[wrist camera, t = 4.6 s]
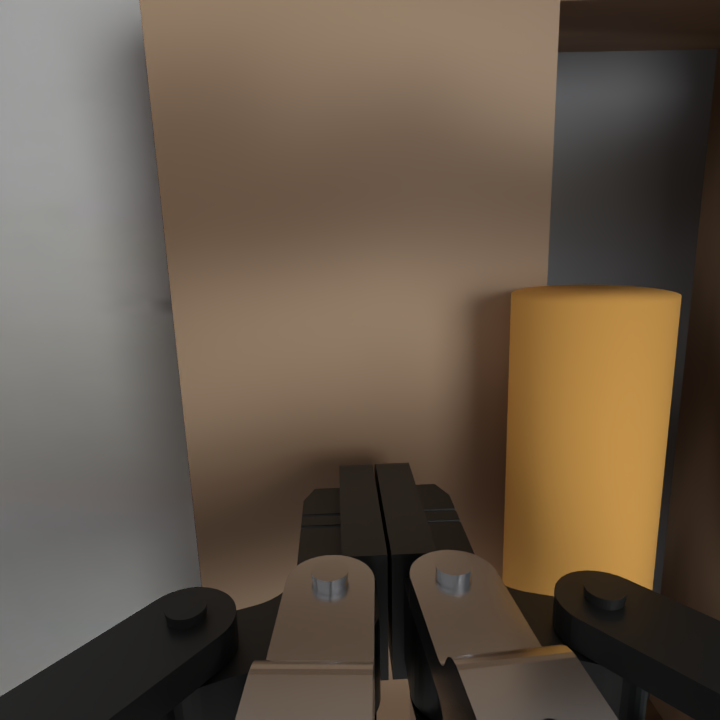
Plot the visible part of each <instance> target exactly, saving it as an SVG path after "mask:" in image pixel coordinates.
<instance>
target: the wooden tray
mask: <svg viewBox="0 0 720 720" xmlns="http://www.w3.org/2000/svg"><path fill="white" fill-rule="evenodd" d="M139 1H140V10H141V19H142V29H143V38H144V48H145V57H146V66H147V76H148V85H149V95H150V104H151V114H152V123H153V132H154V142H155V151H156V161H157V170H158V180H159V189H160V198H161V208H162V217H163V227H164V236H165V245H166V255H167V264H168V274H169V283H170V293H171V302H172V311H173V321H174V330H175V340H176V349H177V358H178V368H179V377H180V387H181V396H182V406H183V415H184V424H185V434H186V443H187V453H188V462H189V472H190V481H191V490H192V500H193V509H194V519H195V528H196V537H197V547H198V556H199V566H200V575H201V585H202V587H208V588H214V589H218V590H221V591H223V592H225V593H227V594H228V595H229V596H230V597H231V598H232V599H233V600H234V602H235V605H236V610H240V609H243V608H247V607H251V606H255V605H258V604H261V603H264V602H266V601H269V600H271V599H273V598H275V597H276V596H278V595H280V594H281V593H282V592H283V590H284V586H285V582H286V579H287V576H288V575H289V573H290V572H291V571H292V570H293V569H294V568H295V567H296V566H297V561H298V551H299V541H300V531H301V522H302V512H303V502H304V500H305V499H306V498H307V497H308V496H309V495H310V494H311V492H312V491H313V490H314V489H323V488H340V482H339V465H358V464H372V465H373V470H374V476H375V464H382V463H409V465H410V468H411V471H412V474H413V477H414V481H415V484H416V485H421V484H435V485H437V486H438V487H439V488H441V489H442V490H443V491H445V492H446V493H447V494H449V495H450V498H451V500H452V502H453V505H454V507H455V511H456V512H457V514H458V516H459V519H460V522H461V524H462V526H463V528H464V531H465V533H466V535H467V538H468V540H469V542H470V545H471V547H472V549H473V552H474V554H475V555H477V556H479V557H481V558H483V559H485V560H486V561H488V562H489V563H490V564H491V565H492V566H493V567H494V568H495V569H496V571H497V573H498V574H499V576H500V578H501V579H502V577H503V544H504V511H505V478H506V445H507V413H508V380H509V347H510V314H511V293H512V292H513V291H515V290H518V289H523V288H529V287H537V286H550V285H623V286H638V287H649V288H657V289H664V290H669V291H673V292H677V293H679V294H681V296H682V298H681V308H680V318H679V328H678V338H677V348H676V358H675V368H674V378H673V388H672V398H671V408H670V418H669V428H668V438H667V448H666V458H665V468H664V478H663V488H662V498H661V508H660V518H659V528H658V538H657V548H656V559H655V569H654V579H653V589H652V591H654V592H657V593H659V594H661V595H663V596H665V597H668V598H670V599H672V600H674V601H677V602H679V603H681V604H683V605H686V606H688V607H690V608H692V609H695V610H697V611H699V612H701V613H703V614H706V615H708V616H710V617H712V618H715V619H717V620H719V621H720V0H139ZM388 653H389V647H388ZM380 686H381V701H380V706H379V708H378V711H377V720H410V690H409V684H408V679H396V680H393V677H392V670H391V662H390V655H389V680H382V681H380ZM645 720H695V719H693V718H691V717H690V716H688V715H686V714H684V713H683V712H681V711H679V710H677V709H676V708H674V707H672V706H671V705H669V704H667V703H665V702H664V701H662V700H660V699H658V698H657V697H655V696H653V695H652V694H650V693H648V696H647V705H646V713H645Z"/></svg>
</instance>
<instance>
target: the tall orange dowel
mask: <svg viewBox="0 0 720 720" xmlns="http://www.w3.org/2000/svg"><path fill="white" fill-rule="evenodd" d="M681 298H682V296H681V294H679V293H677V292H673V291H669V290H664V289H657V288H649V287H638V286H623V285H550V286H537V287H529V288H523V289H518V290H515V291H513V292H512V293H511V314H510V347H509V380H508V413H507V445H506V478H505V511H504V544H503V577H502V581H503V583H504V584H505V586H508V587H510V588H513V589H517V590H520V591H525V592H531V593H537V594H543V595H549V596H554V588H555V584H556V583H557V581H558V580H559V579H560V578H561V577H562V576H564V575H566V574H568V573H571V572H576V571H584V570H591V571H601V572H606V573H611V574H614V575H617V576H620V577H623V578H625V579H628V580H630V581H632V582H634V583H636V584H639V585H641V586H643V587H645V588H648V589H650V590H652V589H653V579H654V569H655V559H656V548H657V538H658V528H659V518H660V508H661V498H662V488H663V478H664V468H665V458H666V448H667V438H668V428H669V418H670V408H671V398H672V388H673V378H674V368H675V358H676V348H677V338H678V328H679V318H680V308H681Z"/></svg>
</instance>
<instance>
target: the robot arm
mask: <svg viewBox="0 0 720 720" xmlns="http://www.w3.org/2000/svg"><path fill="white" fill-rule="evenodd" d="M339 482H340V488H323V489H314V490H313V491H312V492H311V494H310V495H309V496H308V497H307V498H306V499H305V500H304V502H303V512H302V522H301V531H300V541H299V551H298V561H297V566H296V567H295V568H294V569H293V570H292V571H291V572H290V573H289V575H288V576H287V579H286V582H285V586H284V590H283V592H282V593H281V594H280V595H278V596H276V597H275V598H273V599H271V600H269V601H266V602H264V603H261V604H258V605H255V606H251V607H247V608H243V609H240V610H236V605H235V602H234V600H233V599H232V598H231V597H230V596H229V595H228V594H227V593H225V592H223V591H221V590H218V589H214V588H208V587H194V588H187V589H182V590H178V591H175V592H172V593H170V594H167V595H165V596H163V597H161V598H159V599H157V600H156V601H154V602H153V603H151V604H149V605H148V606H146V607H145V608H143V609H141V610H140V611H138V612H136V613H135V614H133V615H132V616H130V617H128V618H127V619H125V620H124V621H122V622H120V623H119V624H117V625H115V626H114V627H112V628H111V629H109V630H107V631H106V632H104V633H103V634H101V635H99V636H98V637H96V638H94V639H93V640H91V641H90V642H88V643H86V644H85V645H83V646H82V647H80V648H78V649H77V650H75V651H73V652H72V653H70V654H69V655H67V656H65V657H64V658H62V659H61V660H59V661H57V662H56V663H54V664H52V665H51V666H49V667H48V668H46V669H44V670H43V671H41V672H40V673H38V674H36V675H35V676H33V677H31V678H30V679H28V680H27V681H25V682H23V683H22V684H20V685H19V686H17V687H15V688H14V689H12V690H10V691H9V692H7V693H6V694H4V695H2V696H1V697H0V720H377V711H378V708H379V706H380V701H381V686H380V681H382V680H389V655H390V662H391V670H392V677H393V680H396V679H408V684H409V690H410V720H645V713H646V705H647V696H648V693H650V694H652V695H653V696H655V697H657V698H658V699H660V700H662V701H664V702H665V703H667V704H669V705H671V706H672V707H674V708H676V709H677V710H679V711H681V712H683V713H684V714H686V715H688V716H690V717H691V718H693V719H695V720H720V621H719V620H717V619H715V618H712V617H710V616H708V615H706V614H703V613H701V612H699V611H697V610H695V609H692V608H690V607H688V606H686V605H683V604H681V603H679V602H677V601H674V600H672V599H670V598H668V597H665V596H663V595H661V594H659V593H657V592H654V591H652V590H650V589H648V588H645V587H643V586H641V585H639V584H636V583H634V582H632V581H630V580H628V579H625V578H623V577H620V576H617V575H614V574H611V573H606V572H601V571H591V570H584V571H576V572H571V573H568V574H566V575H564V576H562V577H561V578H560V579H559V580H558V581H557V583H556V584H555V588H554V596H549V595H543V594H537V593H531V592H525V591H520V590H517V589H513V588H510V587H508V586H505V584H504V583H503V581H502V579H501V578H500V576H499V574H498V573H497V571H496V569H495V568H494V567H493V566H492V565H491V564H490V563H489V562H488V561H486V560H485V559H483V558H481V557H479V556H477V555H475V554H474V552H473V549H472V547H471V545H470V542H469V540H468V538H467V535H466V533H465V531H464V528H463V526H462V524H461V522H460V519H459V516H458V514H457V512H456V511H455V507H454V505H453V502H452V500H451V498H450V495H449V494H447V493H446V492H445V491H443V490H442V489H441V488H439V487H438V486H437V485H435V484H421V485H416V484H415V481H414V477H413V474H412V471H411V468H410V465H409V463H382V464H375V476H374V470H373V465H372V464H358V465H339ZM388 647H389V653H388Z"/></svg>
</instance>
